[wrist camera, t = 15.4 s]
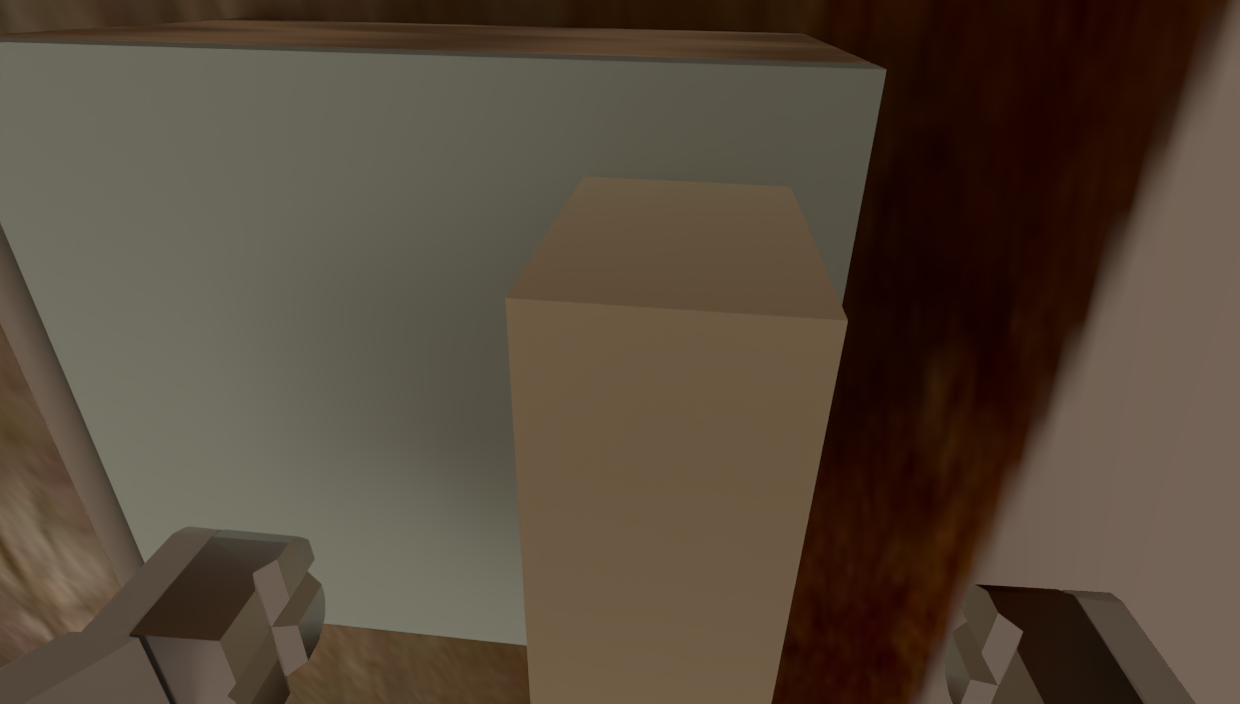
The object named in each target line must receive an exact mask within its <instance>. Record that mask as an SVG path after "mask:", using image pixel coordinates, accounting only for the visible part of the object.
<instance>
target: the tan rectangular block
mask: <svg viewBox="0 0 1240 704" xmlns="http://www.w3.org/2000/svg"><path fill="white" fill-rule="evenodd" d="M505 301H506V318H507V334H508V350H509V366H510V382H511V398H512V414H513V430H514V446H515V462H516V478H517V494H518V510H519V526H520V543H521V559H522V575H523V591H524V607H525V623H526V639H527V655H528V671H529V687H530V703H531V704H771V702H772V697H773V692H774V687H775V682H776V677H777V672H778V667H779V662H780V657H781V652H782V647H783V642H784V637H785V632H786V627H787V622H788V617H789V612H790V607H791V602H792V597H793V592H794V587H795V582H796V577H797V572H798V567H799V562H800V557H801V552H802V547H803V542H804V537H805V532H806V527H807V523H808V518H809V513H810V508H811V503H812V498H813V493H814V488H815V483H816V478H817V473H818V468H819V463H820V458H821V453H822V448H823V443H824V438H825V433H826V428H827V423H828V418H829V413H830V408H831V403H832V398H833V393H834V388H835V383H836V378H837V373H838V368H839V363H840V358H841V353H842V348H843V343H844V338H845V333H846V328H847V323H848V320H847V317H846V315H845V313H844V310H843V308H842V306H841V303H840V301H839V299H838V296H837V294H836V292H835V289H834V287H833V285H832V282H831V280H830V278H829V275H828V273H827V271H826V268H825V266H824V264H823V261H822V259H821V257H820V254H819V252H818V250H817V247H816V245H815V243H814V240H813V238H812V236H811V233H810V231H809V229H808V226H807V224H806V222H805V219H804V217H803V215H802V212H801V210H800V207H799V205H798V203H797V200H796V198H795V196H794V193H793V191H792V189H791V187H788V186H768V185H748V184H728V183H709V182H689V181H669V180H649V179H629V178H609V177H589V176H584V177H583V178H582V180H581V181H580V183H579V185H578V186H577V188H576V189H575V191H574V192H573V194H572V195H571V197H570V199H569V200H568V202H567V203H566V205H565V206H564V208H563V209H562V211H561V212H560V214H559V216H558V217H557V219H556V220H555V222H554V223H553V225H552V226H551V228H550V229H549V231H548V233H547V234H546V236H545V237H544V239H543V240H542V242H541V243H540V245H539V246H538V248H537V250H536V251H535V253H534V254H533V256H532V257H531V259H530V260H529V262H528V264H527V265H526V267H525V268H524V270H523V271H522V273H521V274H520V276H519V277H518V279H517V281H516V282H515V284H514V285H513V287H512V288H511V290H510V291H509V293H508V294H507V296H506V298H505Z"/></svg>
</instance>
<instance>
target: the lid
mask: <svg viewBox="0 0 1240 704" xmlns="http://www.w3.org/2000/svg"><path fill="white" fill-rule="evenodd" d="M885 76H886V69H884V68H882V67H880V66H878V65H875V64H869V63H836V62H803V61H770V60H737V59H704V58H671V57H638V56H605V55H572V54H539V53H506V52H473V51H440V50H408V49H375V48H342V47H309V46H276V45H243V44H210V43H177V42H144V41H111V40H78V39H45V38H12V37H0V324H1V326H2V328H3V331H4V333H5V335H6V337H7V339H8V342H9V344H10V346H11V348H12V350H13V353H14V355H15V357H16V359H17V361H18V363H19V366H20V368H21V370H22V372H23V374H24V377H25V379H26V381H27V383H28V385H29V388H30V390H31V392H32V394H33V396H34V398H35V401H36V403H37V405H38V407H39V409H40V412H41V414H42V416H43V418H44V420H45V423H46V425H47V427H48V429H49V431H50V433H51V436H52V438H53V440H54V442H55V444H56V447H57V449H58V451H59V453H60V455H61V458H62V460H63V462H64V464H65V466H66V469H67V471H68V473H69V475H70V477H71V479H72V482H73V484H74V486H75V488H76V490H77V493H78V495H79V497H80V499H81V501H82V504H83V506H84V508H85V510H86V512H87V514H88V517H89V519H90V521H91V523H92V525H93V528H94V530H95V532H96V534H97V536H98V539H99V541H100V543H101V545H102V547H103V549H104V552H105V554H106V556H107V558H108V560H109V563H110V565H111V567H112V569H113V571H114V574H115V576H116V578H117V580H118V582H119V585H120V587H121V589H122V588H123V586H124V585H125V584H126V583H127V582H128V581H129V580H130V579H131V578H132V577H133V576H134V575H135V574H136V572H137V571H138V570H139V569H140V568H141V567H142V566H143V565H144V564H145V563H146V562H147V561H148V559H149V558H150V557H151V556H152V555H153V554H154V553H155V552H156V551H157V550H158V549H159V548H160V547H161V545H162V544H163V543H164V542H165V541H166V540H167V539H168V538H169V537H170V536H171V535H172V534H173V533H174V532H176V531H179V530H181V529H183V528H185V527H187V526H189V527H200V528H210V529H220V530H225V529H227V530H238V531H248V532H258V533H268V534H278V535H288V536H299V537H302V538H305V539H308V540H309V542H310V545H311V548H312V551H313V554H314V557H315V560H314V561H313V563H312V564H311V566H310V568H309V569H308V572H309V573H310V574H311V575H312V576H313V577H314V578H315V579H317V580H318V581H319V582H320V583H321V584H322V587H323V591H324V595H325V619H324V623H326V624H335V625H344V626H353V627H362V628H372V629H381V630H390V631H399V632H408V633H418V634H427V635H436V636H445V637H454V638H464V639H473V640H482V641H491V642H500V643H510V644H519V645H527V639H526V623H525V607H524V591H523V575H522V559H521V543H520V526H519V510H518V494H517V478H516V462H515V446H514V430H513V414H512V398H511V382H510V366H509V350H508V334H507V318H506V301H505V298H506V296H507V294H508V293H509V291H510V290H511V288H512V287H513V285H514V284H515V282H516V281H517V279H518V277H519V276H520V274H521V273H522V271H523V270H524V268H525V267H526V265H527V264H528V262H529V260H530V259H531V257H532V256H533V254H534V253H535V251H536V250H537V248H538V246H539V245H540V243H541V242H542V240H543V239H544V237H545V236H546V234H547V233H548V231H549V229H550V228H551V226H552V225H553V223H554V222H555V220H556V219H557V217H558V216H559V214H560V212H561V211H562V209H563V208H564V206H565V205H566V203H567V202H568V200H569V199H570V197H571V195H572V194H573V192H574V191H575V189H576V188H577V186H578V185H579V183H580V181H581V180H582V178H583V177H584V176H589V177H609V178H629V179H649V180H669V181H689V182H709V183H728V184H748V185H768V186H788V187H791V189H792V191H793V193H794V196H795V198H796V200H797V203H798V205H799V207H800V210H801V212H802V215H803V217H804V219H805V222H806V224H807V226H808V229H809V231H810V233H811V236H812V238H813V240H814V243H815V245H816V247H817V250H818V252H819V254H820V257H821V259H822V261H823V264H824V266H825V268H826V271H827V273H828V275H829V278H830V280H831V282H832V285H833V287H834V289H835V292H836V294H837V296H838V299H839V301H840V303H841V306H842V303H843V298H844V292H845V287H846V282H847V277H848V271H849V266H850V261H851V255H852V250H853V245H854V240H855V234H856V229H857V224H858V218H859V213H860V208H861V203H862V197H863V192H864V187H865V181H866V176H867V171H868V166H869V160H870V155H871V150H872V144H873V139H874V134H875V129H876V123H877V118H878V113H879V107H880V102H881V97H882V92H883V86H884V81H885Z"/></svg>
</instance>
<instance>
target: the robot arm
mask: <svg viewBox="0 0 1240 704" xmlns="http://www.w3.org/2000/svg"><path fill="white" fill-rule="evenodd" d="M314 560H315V557H314V554H313V551H312V548H311V545H310V542H309V540H308V539H305V538H302V537H299V536H288V535H278V534H268V533H258V532H248V531H238V530H227V529H225V530H220V529H210V528H200V527H189V526H187V527H185V528H183V529H181V530H179V531H176V532H174V533H173V534H172V535H171V536H170V537H169V538H168V539H167V540H166V541H165V542H164V543H163V544H162V545H161V547H160V548H159V549H158V550H157V551H156V552H155V553H154V554H153V555H152V556H151V557H150V558H149V559H148V561H147V562H146V563H145V564H144V565H143V566H142V567H141V568H140V569H139V570H138V571H137V572H136V574H135V575H134V576H133V577H132V578H131V579H130V580H129V581H128V582H127V583H126V584H125V585H124V586H123V588H122V589H121V590H120V591H119V592H118V593H117V594H116V595H115V596H114V597H113V598H112V599H111V600H110V602H109V603H108V604H107V605H106V606H105V607H104V608H103V609H102V610H101V611H100V612H99V613H98V614H97V616H96V617H95V618H94V619H93V620H92V621H91V622H90V623H89V624H88V625H87V626H86V627H85V628H84V630H83V631H82V632H66V633H65V634H63V635H61V636H59V637H57V638H55V639H53V640H51V641H50V642H48V643H46V644H44V645H42V646H40V647H38V648H36V649H35V650H33V651H31V652H29V653H27V654H25V655H23V656H22V657H20V658H18V659H16V660H14V661H12V662H10V663H8V664H7V665H5V666H3V667H1V668H0V704H284V703H285V702H286V700H287V698H288V696H289V694H290V691H289V685H288V679H287V675H289V674H290V673H292V672H293V671H294V670H296V669H297V668H298V667H300V666H301V665H303V664H304V663H305V662H307V661H308V660H309V658H310V656H311V654H312V652H313V650H314V648H315V646H316V644H317V642H318V641H319V638H320V634H321V630H322V626H323V623H324V619H325V595H324V591H323V587H322V584H321V583H320V582H319V581H318V580H317V579H315V578H314V577H313V576H312V575H311V574H310V573H309V572H308V569H309V568H310V566H311V564H312V563H313V561H314ZM961 608H962V610H963V612H964V615H965V617H966V619H967V622H966V623H964V624H963V625H962V626H960V627H959V628H957V629H956V630H954V631H953V632H951V635H950V638H949V642H948V645H947V648H946V651H945V676H946V681H947V685H948V690H949V695H950V697H951V700H952V703H953V704H1196V703H1195V702H1194V700H1193V699H1192V698H1191V696H1190V695H1189V693H1188V692H1187V691H1186V689H1185V688H1184V686H1183V685H1182V684H1181V682H1180V681H1179V680H1178V678H1177V677H1176V675H1175V674H1174V673H1173V671H1172V670H1171V668H1170V667H1169V666H1168V664H1167V663H1166V661H1165V660H1164V659H1163V657H1162V656H1161V654H1160V653H1159V652H1158V650H1157V649H1156V648H1155V646H1154V645H1153V643H1152V642H1151V641H1150V639H1149V638H1148V636H1147V635H1146V634H1145V632H1144V631H1143V630H1142V628H1141V627H1140V625H1139V624H1138V623H1137V621H1136V620H1135V618H1134V617H1133V616H1132V614H1131V613H1130V611H1129V610H1128V609H1127V607H1126V606H1125V604H1124V603H1123V602H1122V601H1121V600H1120V599H1118V598H1117V597H1115V596H1114V595H1113V594H1111V593H1104V592H1088V591H1073V590H1063V591H1060V590H1057V589H1043V588H1042V589H1041V588H1026V587H1010V586H1009V587H1008V586H994V585H978V584H975V585H974V586H972V587H971V588H970V589H969V590H968V591H967V592H966V595H965V598H964V600H963V603H962V605H961Z"/></svg>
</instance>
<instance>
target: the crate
mask: <svg viewBox="0 0 1240 704" xmlns="http://www.w3.org/2000/svg"><path fill="white" fill-rule="evenodd" d="M0 37H12V38H45V39H78V40H111V41H144V42H177V43H210V44H243V45H276V46H309V47H342V48H375V49H408V50H440V51H473V52H506V53H539V54H572V55H605V56H638V57H671V58H704V59H737V60H770V61H803V62H836V63H869V64H870V62H869V61H866V60H864V59H862V58H859V57H857V56H855V55H852V54H850V53H848V52H845V51H843V50H841V49H838V48H836V47H834V46H831V45H829V44H827V43H824V42H822V41H820V40H817V39H815V38H813V37H810V36H808V35H806V34H801V33H763V32H725V31H686V30H648V29H610V28H572V27H533V26H495V25H457V24H419V23H380V22H342V21H304V20H266V19H224V20H209V21H194V22H179V23H164V24H149V25H134V26H119V27H105V28H90V29H75V30H60V31H45V32H30V33H15V34H0Z"/></svg>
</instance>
